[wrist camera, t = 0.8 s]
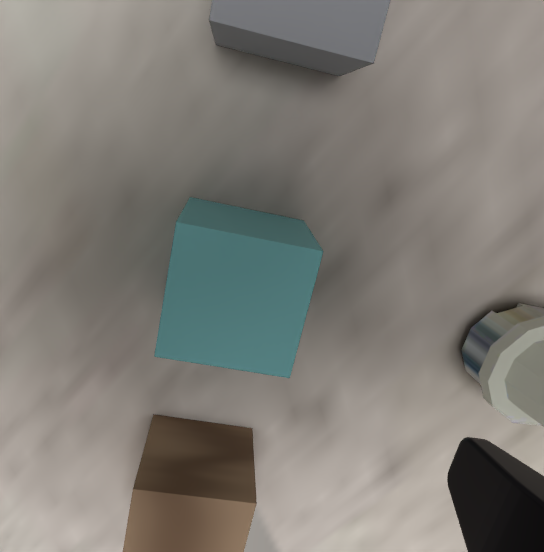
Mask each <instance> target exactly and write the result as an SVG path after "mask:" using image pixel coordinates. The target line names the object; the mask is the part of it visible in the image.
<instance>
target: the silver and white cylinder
mask: <svg viewBox="0 0 544 552" xmlns="http://www.w3.org/2000/svg"><path fill="white" fill-rule="evenodd" d="M461 351H462V355H463V360H464V365H465V369H466V371H467V372H468V373H469V374H470V375H471V376H472V377H473V378H474V379H475V380H477V381H478V382H479V383H480V384H481V388H482V393H483V398H484V399H485V400H486V401H487V402H488V403H489V404H490V405H491V406H492V407H494V408H495V409H496V410H497V411H499V412H500V413H501V414H502V415H504V416H505V417H506V418H508V419H509V420H510V421H511V422H513V423H521V424H531V425H541V426H544V308H542V307H537V306H531V305H526V304H521V303H518V305H517V307H516V308H514V309H510V310H507V311H503V312H500V313H495V312H493V311H491V312H490V313H488V314H487V315H486V316H485V317H484V318H482V319H481V320H480V321H479V322H478V323H476V324H475V325H474V326H473V327H472V328H471V329H470V331H469V334H468V336H467V338H466V341H465V343H464V345H463V348H462V350H461Z"/></svg>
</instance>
